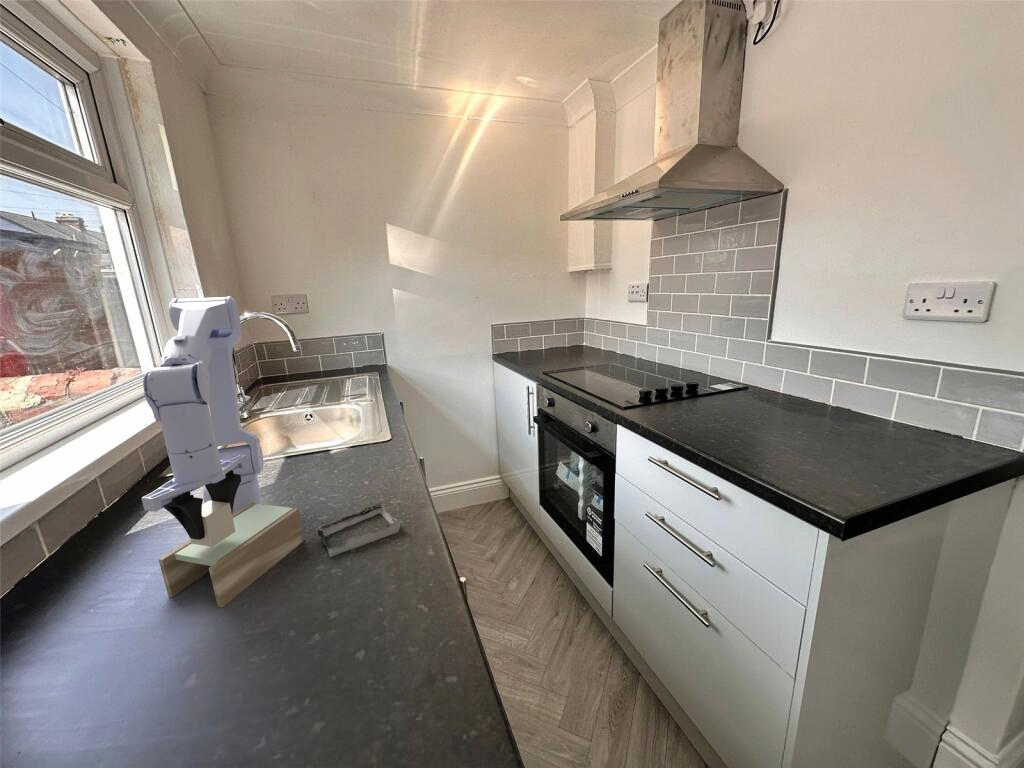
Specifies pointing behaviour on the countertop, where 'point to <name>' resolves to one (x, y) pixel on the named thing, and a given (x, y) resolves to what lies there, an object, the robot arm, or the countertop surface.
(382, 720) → the countertop surface
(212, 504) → the beige cube
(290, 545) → the trapdoor frame
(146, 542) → the countertop surface
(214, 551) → the trapdoor
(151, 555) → the countertop surface
